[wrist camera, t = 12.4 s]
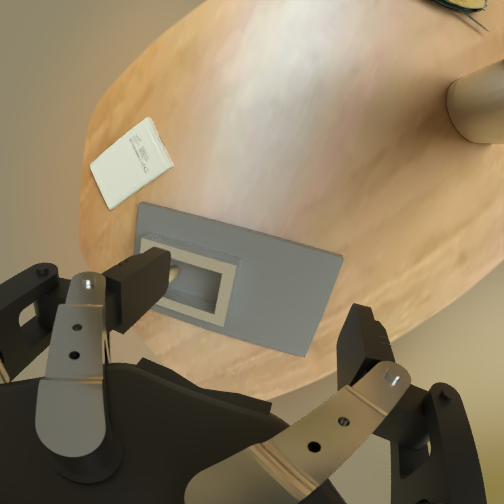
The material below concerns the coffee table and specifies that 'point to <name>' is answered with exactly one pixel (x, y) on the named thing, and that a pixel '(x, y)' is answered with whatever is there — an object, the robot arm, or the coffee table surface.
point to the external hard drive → (130, 163)
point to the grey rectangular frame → (204, 259)
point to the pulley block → (463, 6)
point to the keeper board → (249, 279)
